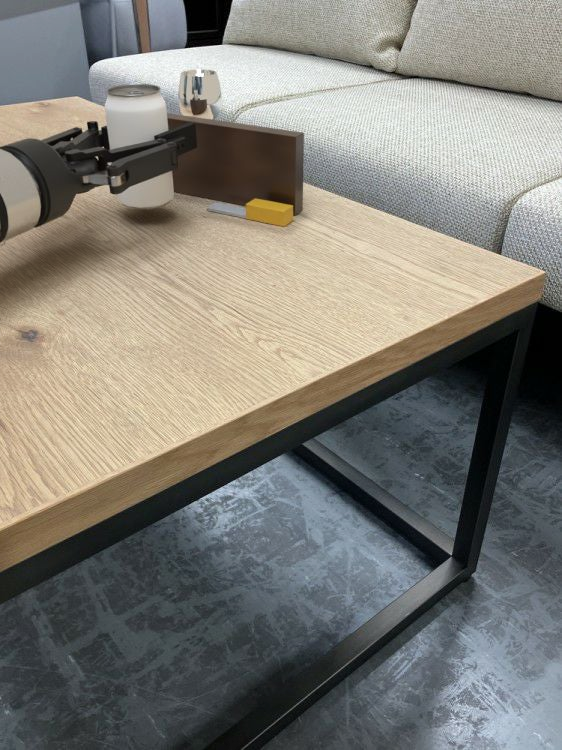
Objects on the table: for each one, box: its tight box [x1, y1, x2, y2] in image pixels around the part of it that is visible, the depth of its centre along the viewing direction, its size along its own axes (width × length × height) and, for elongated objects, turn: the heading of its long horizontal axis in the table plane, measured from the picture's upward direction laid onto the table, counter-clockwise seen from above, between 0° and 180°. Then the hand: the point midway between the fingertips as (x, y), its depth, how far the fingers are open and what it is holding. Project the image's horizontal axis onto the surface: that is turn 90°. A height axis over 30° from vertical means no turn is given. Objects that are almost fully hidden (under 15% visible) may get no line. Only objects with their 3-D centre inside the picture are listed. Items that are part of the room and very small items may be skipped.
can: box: [104, 83, 175, 210], centre depth 77 cm, size 6×6×12 cm
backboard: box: [167, 112, 305, 216], centre depth 84 cm, size 22×2×9 cm, turn 61°
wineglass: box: [177, 68, 223, 120], centre depth 94 cm, size 6×6×12 cm
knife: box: [206, 198, 294, 227], centre depth 81 cm, size 10×2×2 cm, turn 61°
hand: (167, 131), depth 80 cm, fingers closed on can, 6 cm apart
